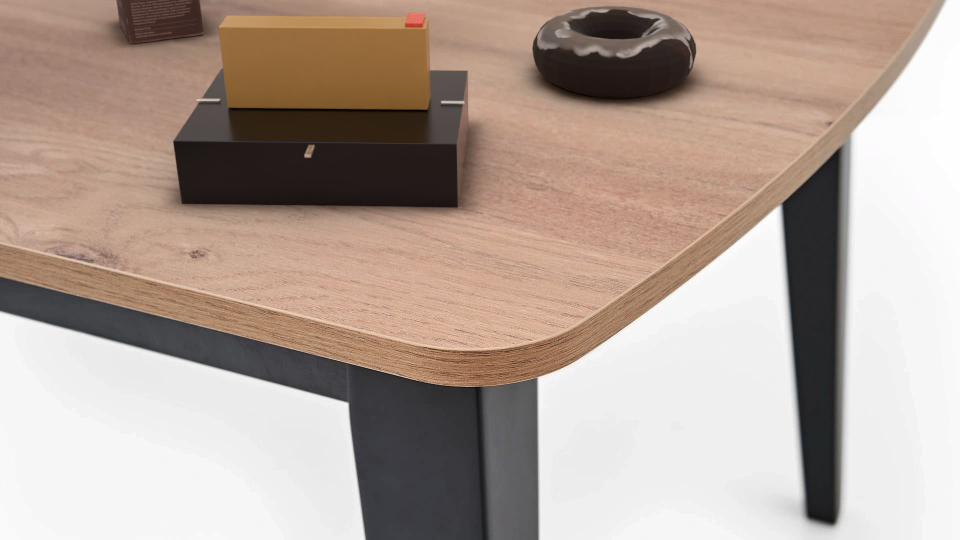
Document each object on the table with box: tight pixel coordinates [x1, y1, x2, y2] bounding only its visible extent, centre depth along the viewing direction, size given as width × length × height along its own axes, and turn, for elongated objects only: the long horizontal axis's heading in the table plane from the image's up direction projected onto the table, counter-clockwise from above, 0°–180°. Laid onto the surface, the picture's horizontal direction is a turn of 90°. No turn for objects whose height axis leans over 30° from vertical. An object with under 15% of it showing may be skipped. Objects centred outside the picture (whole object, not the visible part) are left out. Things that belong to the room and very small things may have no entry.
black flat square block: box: [172, 68, 469, 208], centre depth 74 cm, size 16×16×4 cm
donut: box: [531, 5, 697, 99], centre depth 87 cm, size 12×12×4 cm
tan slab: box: [218, 12, 431, 110], centre depth 72 cm, size 12×2×5 cm, turn 88°
